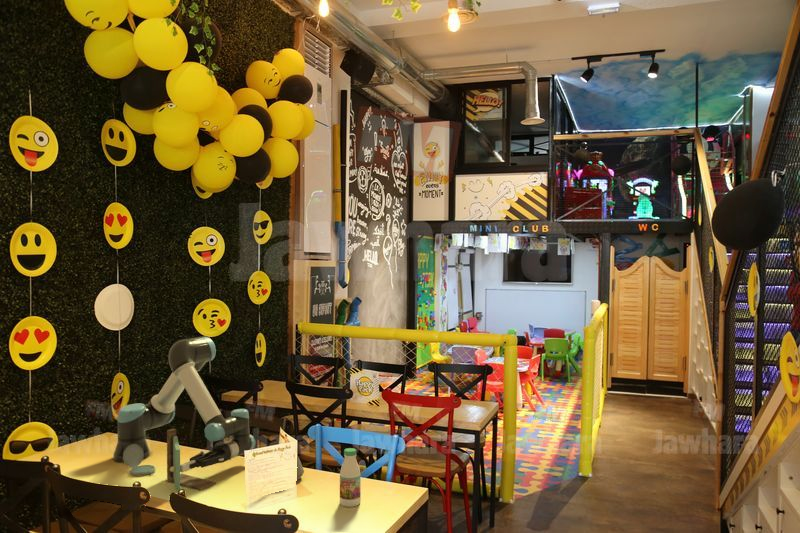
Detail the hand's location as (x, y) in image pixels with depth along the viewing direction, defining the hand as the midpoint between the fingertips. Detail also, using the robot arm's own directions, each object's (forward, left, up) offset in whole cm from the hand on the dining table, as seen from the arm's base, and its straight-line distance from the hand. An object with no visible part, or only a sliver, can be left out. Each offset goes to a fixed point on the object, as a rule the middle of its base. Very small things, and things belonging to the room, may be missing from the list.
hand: (181, 468), depth 236 cm
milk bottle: (+49, +47, -9) cm, 69 cm away
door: (-7, -1, -7) cm, 10 cm away
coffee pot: (+15, +36, -9) cm, 40 cm away
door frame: (-8, +5, -9) cm, 13 cm away
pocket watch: (-31, -7, -9) cm, 33 cm away
